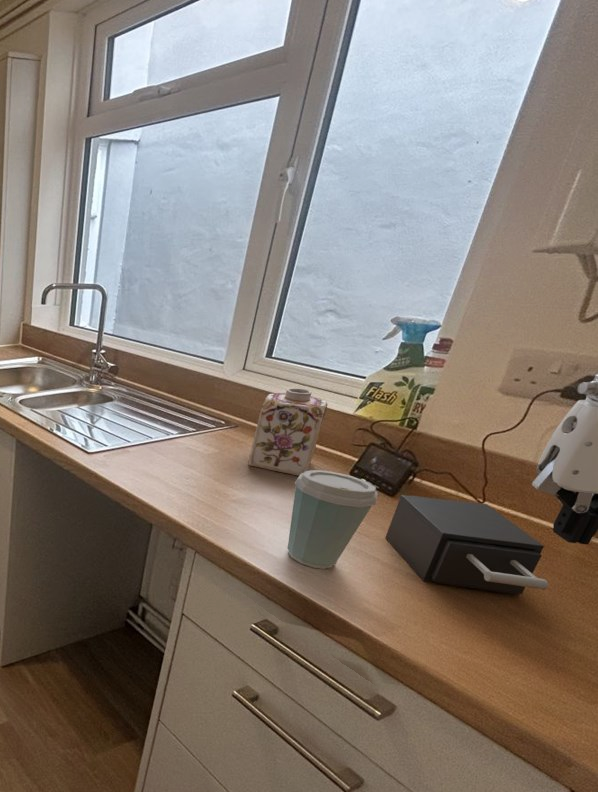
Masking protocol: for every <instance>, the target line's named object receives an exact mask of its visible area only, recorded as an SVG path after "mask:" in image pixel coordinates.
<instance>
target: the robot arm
mask: <svg viewBox="0 0 598 792" xmlns="http://www.w3.org/2000/svg"><path fill="white" fill-rule="evenodd" d="M576 391H577V393H578V394H581V395H585V397H586V398H585V399H578V400H577V401H576V402H575V404H574V405H573V406H572V407H571V409H570V410H569V411H568V412H567V413H566V415H565V416H564V417H563V419H562V420H561V421H560V423H559V424H558V426H557V428H556V429H555V430H554V432H553V434H552V435H551V437H550V438H549V440H548V441H547V444H546V445H545V447H544V450H543V451H542V453H541V455H540V458H539V459H538V463H537V466H536V473H537V474H538V475H537V476H536V478H535V479H534V480H533V481H532V482H531V487H532V488H533V489H535V490H537V491H538V492H541V493H544V494H547V495H552V496H555V497H556V498H557V500H558V502H559V503H560V504H562V506H561V508H560V510H559V513H558V514H557V516H556V518H555V520H554V522H553V525H552V527H553V528H552V531H553V533H555V534H556V535H557V536H559V537H560V538H561V539H563V540H564V541H565V542H567V543H571V544H577V543H578V544H580V545H589V544H590V542H591V540H592V539H593V537H594V536H595V535H596V534H597V532H598V373H597V374H595V376H594V378H593V380H592V381H582V382H580V383H579V384H578V386H577V389H576Z"/></svg>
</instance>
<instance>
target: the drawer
mask: <svg viewBox="0 0 598 792" xmlns="http://www.w3.org/2000/svg"><path fill="white" fill-rule="evenodd" d="M541 558H542V553H541V554H540V553H538V552H537V551H533V550H526V549H522V548H518V547H510V546H503V545H495V544H493V545H487V544H479V543H472V542H464V541H456V540H452V539H449V538H447V539H446V541H445V543H444V546H443V548H442V550H441V553H440V555H439V557H438V560H437V562H436V564H435V567H434V569H433V571H432V574H431V576H430V577H431V578H432V579H433V581H437V582H443V583H450V584H457V585H463V586H470V587H477V588H483V589H490V590H497V591H503V592H510V593H517V594H519V595H523V593H524V591H525V589H526V588H530V589H531V588H532V589H539V590H546V589H547V588H548V587H549V583H548V581H547V580H546V579H545V578H539V577H537V576H536V575H535V574H534V571H535V569H536V567H537V566H538V564H539V562H540V560H541Z"/></svg>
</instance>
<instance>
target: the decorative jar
mask: <svg viewBox="0 0 598 792" xmlns="http://www.w3.org/2000/svg"><path fill="white" fill-rule="evenodd" d="M328 405H329V404H328V402H327V401H325V400H323V399H321V398H318V397H315V396H312V391H311V390H309V389H306V388H300V387H290V388H287V389H286V391H285V392H276V393H269V394H268V395H267V396H266V397H265V398H264V401H263V404H262V405H261V408H260V411H259V416H258V420H257V424H256V427H255V433H254V436H253V441H252V445H251V449H250V454H249V459H248V462H247V465H248V466H250V467H256V468H260V469H264V470H270V471H274V472H279V473H284V474H287V475H288V474H289V475H294V476H298V477H299V475H300V474H301V473H304V472H305V471H309V468H310V466H311V462H312V459H313V457H314V454H315V450H316V447H317V443H318V440H319V437H320V434H321V433H320V432H321V430H322V426H323V421H324V419H325V415H326V412H328V411H327V409H328Z"/></svg>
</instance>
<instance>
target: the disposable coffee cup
mask: <svg viewBox="0 0 598 792" xmlns="http://www.w3.org/2000/svg"><path fill="white" fill-rule="evenodd" d="M294 485H295V489H294V498H293V504H292V512H291V519H290V527H289V534H288V541H287V542H288V543H287V550H288V554H289V557H291V559H293V560H294V561H296V562H298V563H299V564H301V565H305V566H307V567H310V568H314V569H322V570H326V569H330V568H332V567H333V566H334V565H336V563H337V562H338V560H339V559H340V557H341V555H342V554H343V552H344V551H345V549H346V547H347V546H348V544H349V543H350V541H351V540H352V538H353V537H354V535H355V534H356V532H357V530H358V528H359V527H360V526H361V523H362V522H363V521H364V519H365V518H366V516H367V514H368V513H369V511H370V510H371V508H372V507H373V506H376V505H377V501H378V495H379V493H378V491H376V490H377V487H376V486H375V485H373V484H372V483H370V482H369V481H367V480H364V479H361V478H358V477H356V476H353V475H351V474H350V475H349V474H345V473H340V472H337V471H330V470H321V469H313V470H308V471H305V472H304V473H301V474H300V475H299V476H298V477H297V479H296V480H295V482H294Z"/></svg>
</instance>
